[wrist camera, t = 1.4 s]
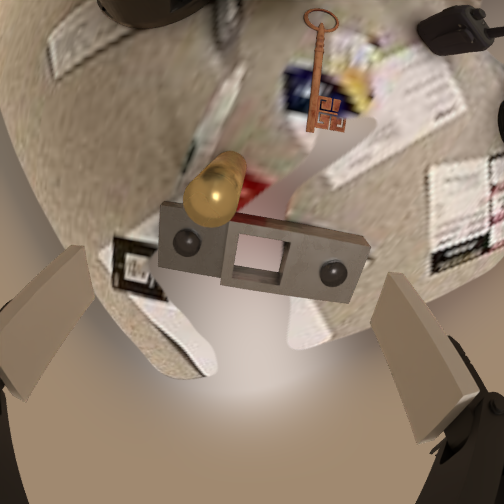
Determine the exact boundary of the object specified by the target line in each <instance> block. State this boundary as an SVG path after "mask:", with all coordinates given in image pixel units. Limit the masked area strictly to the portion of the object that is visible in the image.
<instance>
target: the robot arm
mask: <svg viewBox="0 0 504 504" xmlns="http://www.w3.org/2000/svg"><path fill="white" fill-rule="evenodd" d="M209 1H210V0H97V3H98V5H99V7H100V9H101V10H102V12H103V13H104V14H105V15H106V16H107V17H109V18H110V19H112V20H114V21H116V22H117V23H119V24H121V25H124V26H127V27H131V28H139V29H146V28H155V27H160V26H164V25H168V24H171V23H174V22H177V21H179V20H181V19H183V18H185V17H187V16H189V15H191V14H193V13H194V12H196V11H197V10H199V9H200V8H202V7H203V6H204V5H206V4H207V3H208V2H209ZM94 299H95V295H94V291H93V287H92V282H91V278H90V273H89V269H88V264H87V259H86V253H85V248H84V246H77V245H71V246H69V247H68V248H67V249H66V250H65V251H64V252H63V253H61V254H60V255H59V256H58V257H57V258H56V259H54V260H53V261H52V262H51V263H50V264H49V265H48V266H47V267H46V268H44V269H43V270H42V271H41V272H40V273H39V274H38V275H37V276H36V277H35V278H34V279H33V280H32V281H31V282H30V283H28V284H27V285H26V286H25V287H24V288H23V289H22V290H21V291H20V292H19V293H18V294H17V296H15V297H14V298H13V299H12V300H10V301H9V302H7V303H6V304H5V305H4V306H3V307H2V308H1V310H0V504H29V502H28V499H27V496H26V493H25V490H24V487H23V484H22V481H21V477H20V473H19V470H18V466H17V462H16V458H15V453H14V449H13V445H12V440H11V433H10V427H9V421H8V413H7V405H6V397H5V393H4V392H3V390H2V389H3V388H4V386H6V387H7V388H8V390H9V391H10V392H11V394H12V395H13V396H15V397H16V398H18V399H20V400H22V401H24V402H27V400H28V398H29V396H30V395H31V393H32V391H33V389H34V388H35V386H36V384H37V383H38V381H39V380H40V378H41V376H42V374H43V373H44V371H45V370H46V368H47V366H48V365H49V363H50V362H51V360H52V358H53V357H54V356H55V354H56V353H57V351H58V349H59V348H60V347H61V345H62V343H63V342H64V341H65V339H66V338H67V336H68V335H69V333H70V332H71V330H72V329H73V328H74V326H75V325H76V323H77V322H78V320H79V319H80V318H81V316H82V315H83V314H84V312H85V311H86V309H87V308H88V307H89V305H90V304H91V303H92V301H93V300H94ZM370 324H371V326H372V329H373V331H374V333H375V336H376V338H377V340H378V342H379V345H380V347H381V349H382V352H383V354H384V357H385V359H386V361H387V364H388V366H389V369H390V371H391V374H392V376H393V379H394V381H395V384H396V387H397V389H398V392H399V394H400V397H401V400H402V403H403V405H404V408H405V411H406V414H407V417H408V419H409V422H410V425H411V428H412V431H413V434H414V437H415V440H416V443H417V445H418V444H422V443H425V442H429V441H432V440H434V439H435V438H437V437H438V436H439V435H440V434H441V433H442V432H443V431H444V433H445V435H446V437H445V438H444V439H443V440H442V441H441V442H440V443H439V444H438V445H436V446H435V447H434V448H433V449H432V450H431V452H430V454H433V453H434V452H435V451H436V450H438V449H439V450H438V453H437V454H436V455H435V456H436V458H435V461H434V463H433V466H432V469H431V471H430V473H429V476H428V478H427V480H426V482H425V484H424V487H423V489H422V491H421V493H420V495H419V497H418V499H417V501H416V503H415V504H504V397H503V396H502V395H501V394H499V393H496V392H488V391H487V389H486V387H485V386H484V384H483V382H482V380H481V379H480V377H479V375H478V373H477V372H476V370H475V369H474V367H473V365H472V364H470V360H469V359H468V357H467V356H465V352H464V351H463V349H462V348H461V346H460V344H459V343H458V342H457V341H455V340H454V339H453V338H452V337H451V336H447V335H446V333H445V332H444V330H443V329H442V327H441V326H440V324H439V323H438V321H437V320H436V318H435V317H434V315H433V314H432V312H431V311H430V310H429V308H428V307H427V305H426V304H425V302H424V301H423V300H422V298H421V297H420V296H419V294H418V293H417V291H416V290H415V289H414V287H413V286H412V285H411V283H410V282H409V281H408V279H407V278H406V277H405V276H404V274H403V273H394V272H388V274H387V277H386V280H385V283H384V286H383V289H382V291H381V294H380V297H379V300H378V303H377V305H376V308H375V311H374V313H373V316H372V318H371V321H370Z"/></svg>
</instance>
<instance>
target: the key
mask: <svg viewBox="0 0 504 504" xmlns="http://www.w3.org/2000/svg"><path fill="white" fill-rule="evenodd" d="M312 11H324V12H327V13H329V14H330V15H332V16H333V17H334V18H335V20H336V23H337V24H336V26H335V27H334V28H332V29H328V30H326V29H325V28H324V25H323V23H321V24H320V25H319V27H315V26H314V25H312V24H311V23H310V21H309V20H308V14H309V13H310V12H312ZM304 20H305V22H306V23H307V25H308V26H310V27H311V28H312V29H314V30H317V31H318V34H317V38H316V39H317V42H316V48H315V59H314V69H313V78H312V87H311V96H310V104H309V112H308V120H307V128H306V132H312V133H314V127H316V128H322V129H328V126H329V118H330V116H328V115H323V114H320V120H319V121H322V122H324V123H323V124H321V123H317V121H318V113H319V112H323V113H329V114H334V115H337V113H332V112H327V111H321V110H319V107H320V99H323V100H326V102H324V101H322V104H321V109H327V110H331V103H332V98H328V97H323V96H319V87H320V78H321V69H322V59H323V53H324V49H323V47H324V39H325V38H324V32H332V31H335V30H336V29H337V28H338V26H339V21H338V19H337V17H336V16H335V15H334V14H333V13H331V12H329V11H327V10H325V9H320V8H314V9H310V10H308V11H307V12H306V13H305V14H304ZM340 101H341V100H337V99H334V102H333V110H332V111H337V112H338V110H339V106H340ZM336 118H337V117H334V116H332V118H331V121H330V128H329V130H333V131H338V132H343V133H344V131H345V125H346V119H343V124H342V127H337V125H341V123H342V119H336Z"/></svg>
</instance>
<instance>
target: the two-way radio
mask: <svg viewBox="0 0 504 504" xmlns="http://www.w3.org/2000/svg"><path fill="white" fill-rule="evenodd" d="M485 17H486V14H485V12H484V11H483V10H482V9H480V8H479V9H475V8H474V7H472V6H470V5H461V6H457V5H456V6H452V7H449V8H447V9H444V10H443V11H442V12H440V13H437V14H435V15H433V16H431V17H429V18H427V19H425V20H423V21H421V22H420V23H419V25H418V32H419V35H420V36H421V38H422V39H423V40H424V42H425V43H426V44H427V45H428V46H429V48H430V49H431V50H432V51H433V52H434V53H435V54H437V55H443V56H446V55H454V54H462V53H468V52H478V51H484V50H486V49H487V48H488V47H490V46H491V45H492V44H493V42H494V38H496V37H501V36H504V27H496V28H489V27H488V25H487V24H486V22H485V21H484V19H483V18H485Z"/></svg>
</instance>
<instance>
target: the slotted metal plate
mask: <svg viewBox="0 0 504 504" xmlns="http://www.w3.org/2000/svg"><path fill="white" fill-rule="evenodd" d="M239 233H240V234H246V235H252V236H257V237H263V238H269V239H275V240H281V241H286V244H285V248H284V252H283V256H282V260H281V264H280V268H279V272H272V271H267V270H261V269H254V268H248V267H242V266H236V265H234V261H235V255H236V249H237V243H238V236H239ZM370 249H371V246H370V245H369V244H368V242H367V241H366V240H365V238H364V237H363V236H359V235H354V234H350V233H345V232H340V231H335V230H330V229H325V228H320V227H315V226H310V225H304V224H299V223H294V222H288V221H283V220H277V219H272V218H266V217H261V216H255V215H249V214H243V213H237V212H235V214H234V216H233V217H232V219H231V220H230V221H228V222H227V223H226V224H224V225H222V226H219V227H213V228H210V227H204V226H201V225H199V224H197V223H195V222H194V221H193V220H191V219H190V217H189V216H188V215H187V213H186V211H185V209H184V205H183V204H180V203H174V202H167V201H164V202H163V203H162V204H161V205H160V222H159V253H158V266H159V267H162V268H168V269H173V270H179V271H184V272H190V273H196V274H201V275H207V276H212V277H219V278H221V283H220V285H224V286H230V287H236V288H242V289H248V290H254V291H261V292H267V293H274V294H281V295H287V296H294V297H301V298H308V299H316V300H323V301H331V302H339V303H347V304H349V302H350V299H351V297H352V295H353V292H354V290H355V287H356V285H357V283H358V280H359V278H360V275H361V273H362V270H363V267H364V265H365V262H366V260H367V257H368V254H369V251H370Z"/></svg>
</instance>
